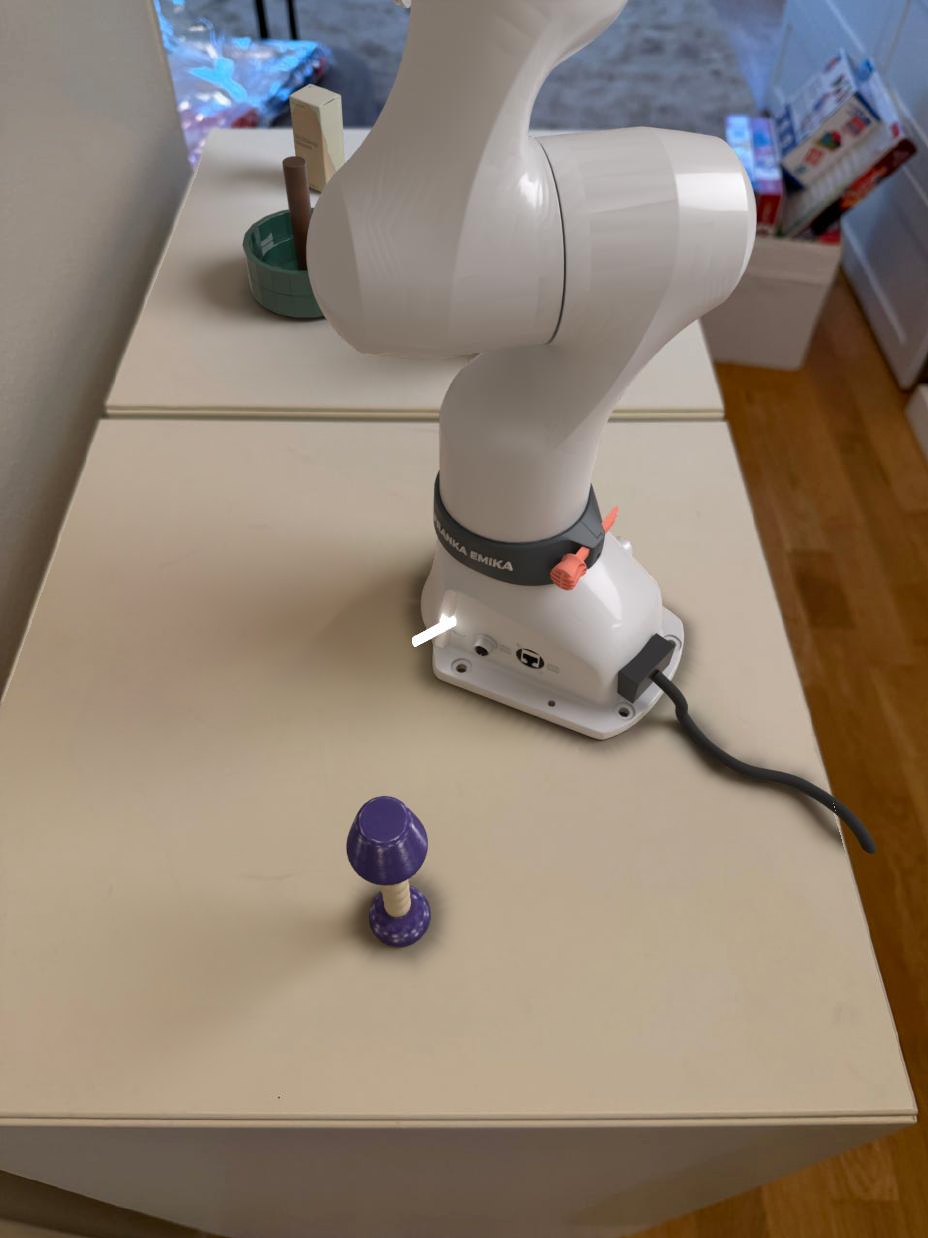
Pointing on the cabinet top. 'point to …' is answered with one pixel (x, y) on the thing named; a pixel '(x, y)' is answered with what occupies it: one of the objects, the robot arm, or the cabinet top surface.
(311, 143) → the box
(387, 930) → the toy lamp
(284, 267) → the bowl
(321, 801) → the cabinet top surface
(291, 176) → the stirring stick
